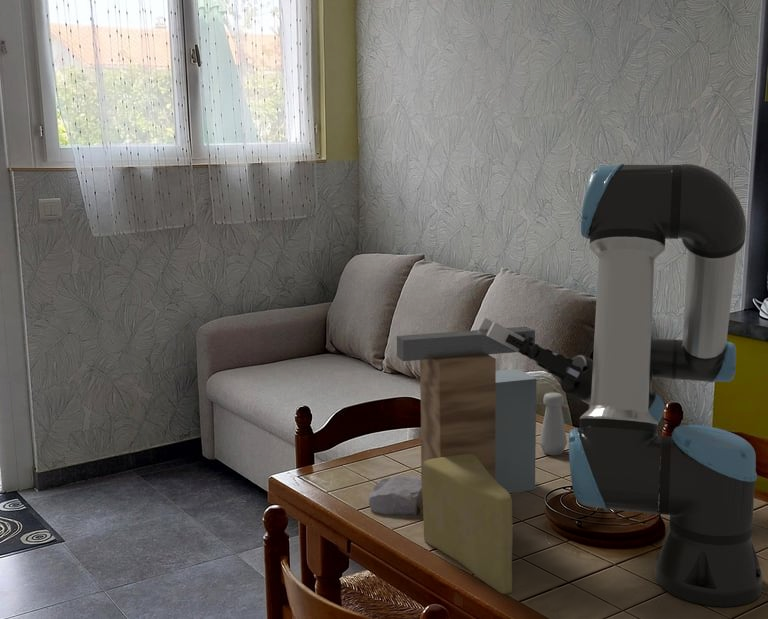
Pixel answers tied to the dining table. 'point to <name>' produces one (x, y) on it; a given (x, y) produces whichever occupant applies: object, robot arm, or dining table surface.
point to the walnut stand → (458, 409)
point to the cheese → (469, 517)
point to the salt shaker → (553, 425)
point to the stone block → (397, 495)
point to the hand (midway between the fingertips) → (485, 326)
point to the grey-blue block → (515, 430)
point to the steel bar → (454, 344)
